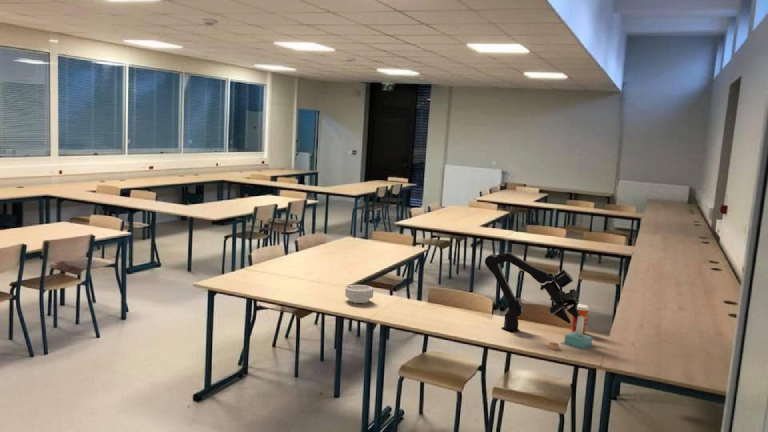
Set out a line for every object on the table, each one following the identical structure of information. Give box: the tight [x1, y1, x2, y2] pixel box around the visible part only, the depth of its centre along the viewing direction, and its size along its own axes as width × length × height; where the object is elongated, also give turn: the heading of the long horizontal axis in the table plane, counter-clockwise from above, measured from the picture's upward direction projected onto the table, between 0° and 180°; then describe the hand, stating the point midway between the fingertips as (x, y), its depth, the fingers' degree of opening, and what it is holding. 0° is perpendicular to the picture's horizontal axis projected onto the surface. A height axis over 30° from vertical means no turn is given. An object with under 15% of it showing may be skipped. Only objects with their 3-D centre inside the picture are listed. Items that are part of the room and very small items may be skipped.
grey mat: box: [559, 340, 597, 351], centre depth 285 cm, size 12×12×1 cm
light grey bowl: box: [344, 284, 374, 304], centre depth 335 cm, size 15×15×8 cm
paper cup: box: [571, 303, 590, 335], centre depth 303 cm, size 8×8×14 cm
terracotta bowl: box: [547, 341, 560, 351], centre depth 276 cm, size 4×4×3 cm
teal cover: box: [563, 316, 593, 349], centre depth 284 cm, size 9×9×13 cm
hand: (574, 321), depth 285 cm, fingers open, 9 cm apart
